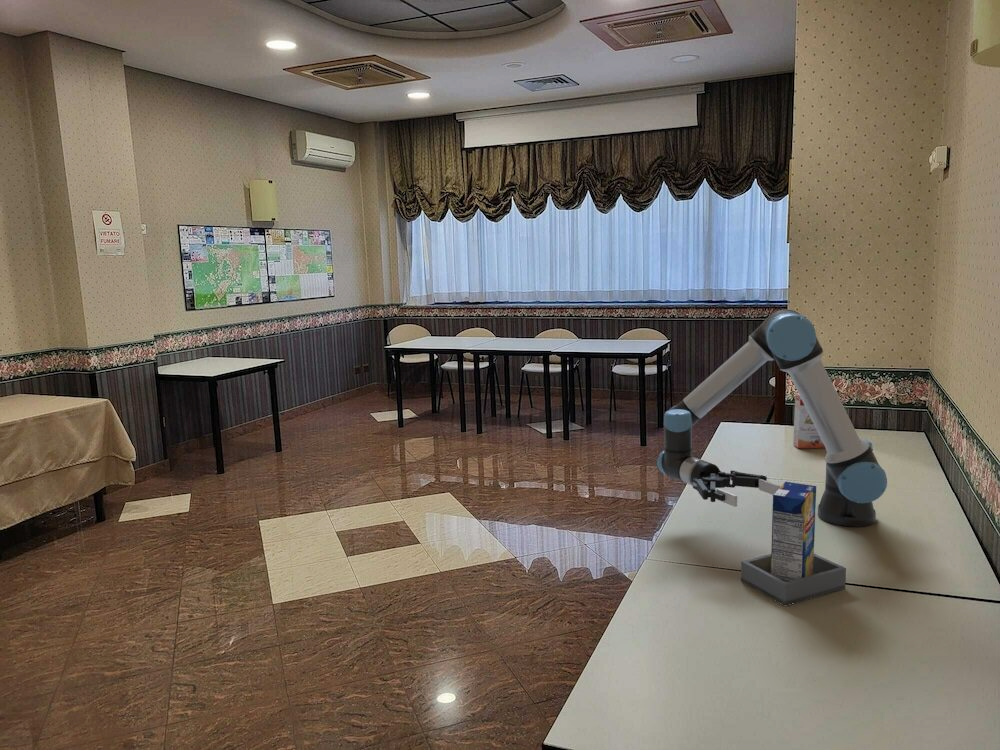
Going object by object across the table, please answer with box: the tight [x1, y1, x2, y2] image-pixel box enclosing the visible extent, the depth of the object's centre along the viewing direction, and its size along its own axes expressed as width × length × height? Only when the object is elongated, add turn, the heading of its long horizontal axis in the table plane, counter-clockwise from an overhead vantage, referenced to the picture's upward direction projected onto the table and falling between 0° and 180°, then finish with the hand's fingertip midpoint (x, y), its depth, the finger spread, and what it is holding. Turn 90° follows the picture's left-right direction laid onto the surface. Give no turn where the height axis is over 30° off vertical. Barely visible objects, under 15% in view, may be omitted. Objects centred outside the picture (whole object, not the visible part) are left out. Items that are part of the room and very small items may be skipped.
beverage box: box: [770, 481, 817, 582], centre depth 171 cm, size 7×11×22 cm, turn 145°
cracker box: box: [792, 392, 826, 449], centre depth 284 cm, size 14×6×21 cm, turn 88°
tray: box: [740, 553, 847, 606], centre depth 173 cm, size 18×14×5 cm
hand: (757, 496), depth 182 cm, fingers open, 13 cm apart
